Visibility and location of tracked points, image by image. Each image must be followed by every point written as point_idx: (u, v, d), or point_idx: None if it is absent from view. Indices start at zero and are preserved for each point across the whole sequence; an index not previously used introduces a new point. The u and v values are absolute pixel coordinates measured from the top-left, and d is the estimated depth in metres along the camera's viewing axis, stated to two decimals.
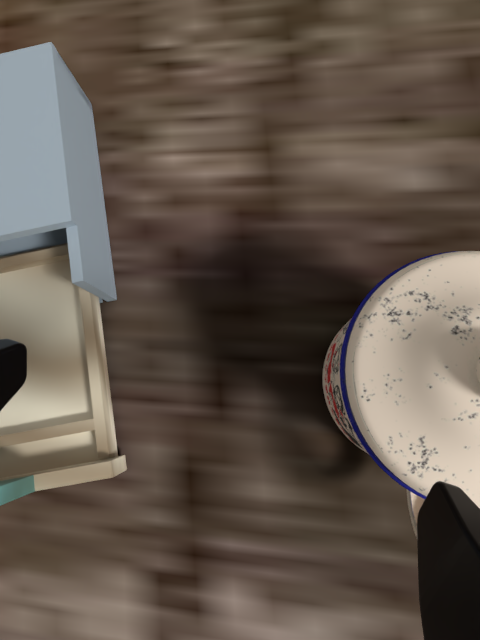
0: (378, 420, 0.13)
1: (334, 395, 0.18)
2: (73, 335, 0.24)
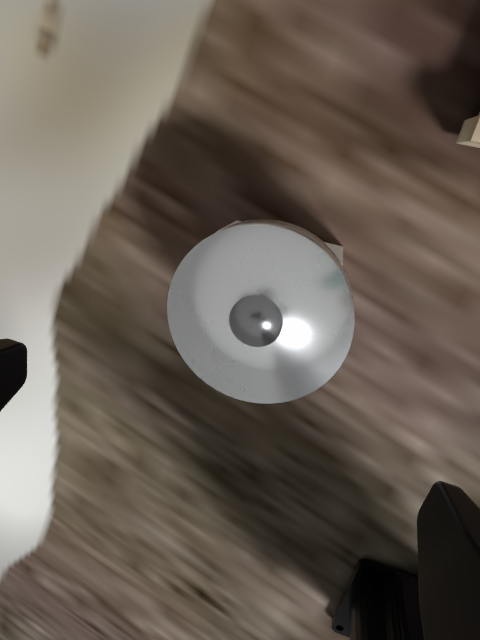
0: None
1: None
2: None
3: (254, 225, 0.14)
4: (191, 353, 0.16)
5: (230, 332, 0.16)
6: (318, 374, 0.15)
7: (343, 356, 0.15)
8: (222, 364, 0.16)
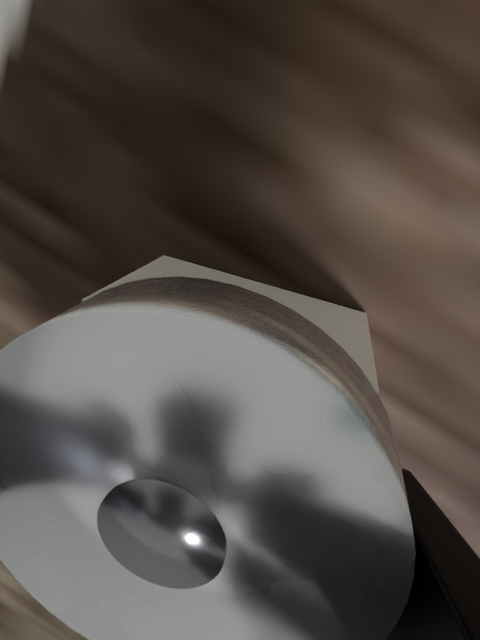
0: None
1: None
2: None
3: (138, 314, 0.05)
4: (29, 570, 0.07)
5: (105, 547, 0.06)
6: None
7: (378, 636, 0.06)
8: (96, 600, 0.07)
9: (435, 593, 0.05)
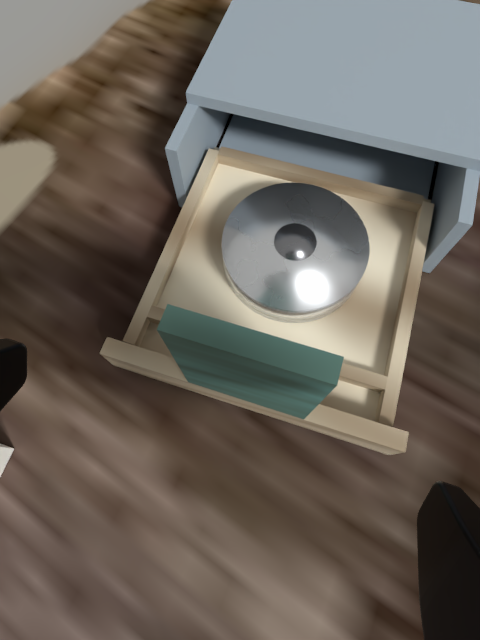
0: None
1: None
2: (382, 282, 0.20)
3: (297, 183, 0.21)
4: (237, 267, 0.19)
5: (273, 251, 0.19)
6: (345, 283, 0.19)
7: (363, 268, 0.19)
8: (264, 276, 0.19)
9: None
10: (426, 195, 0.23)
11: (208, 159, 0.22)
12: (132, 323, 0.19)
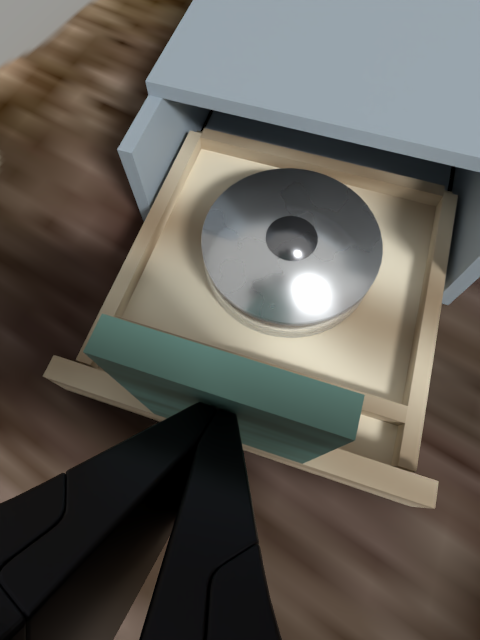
0: None
1: None
2: (397, 288, 0.17)
3: (294, 168, 0.17)
4: (220, 268, 0.15)
5: (264, 248, 0.16)
6: (353, 288, 0.15)
7: (376, 271, 0.15)
8: (253, 279, 0.15)
9: (181, 501, 0.06)
10: None
11: (188, 142, 0.19)
12: (88, 337, 0.15)
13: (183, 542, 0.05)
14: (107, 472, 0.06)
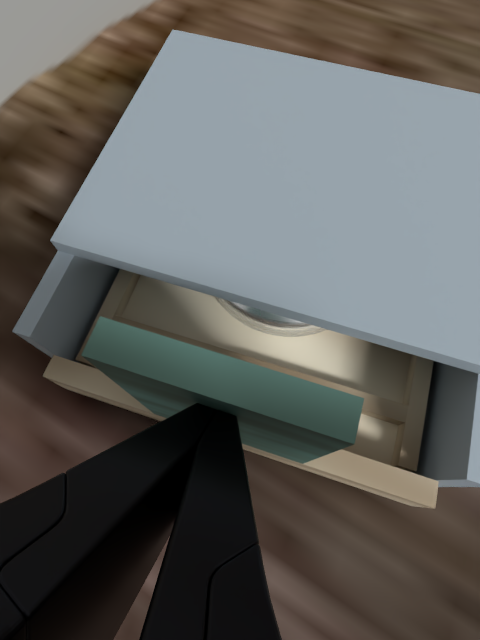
0: None
1: None
2: None
3: None
4: None
5: None
6: None
7: None
8: None
9: (181, 501, 0.06)
10: None
11: None
12: (88, 337, 0.15)
13: (183, 542, 0.05)
14: (107, 472, 0.06)
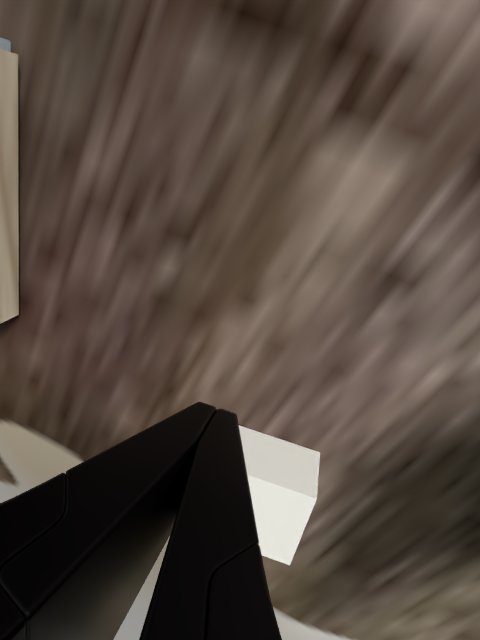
0: None
1: None
2: None
3: None
4: None
5: None
6: None
7: None
8: None
9: (181, 501, 0.06)
10: None
11: None
12: None
13: (183, 542, 0.05)
14: (107, 472, 0.06)
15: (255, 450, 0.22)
